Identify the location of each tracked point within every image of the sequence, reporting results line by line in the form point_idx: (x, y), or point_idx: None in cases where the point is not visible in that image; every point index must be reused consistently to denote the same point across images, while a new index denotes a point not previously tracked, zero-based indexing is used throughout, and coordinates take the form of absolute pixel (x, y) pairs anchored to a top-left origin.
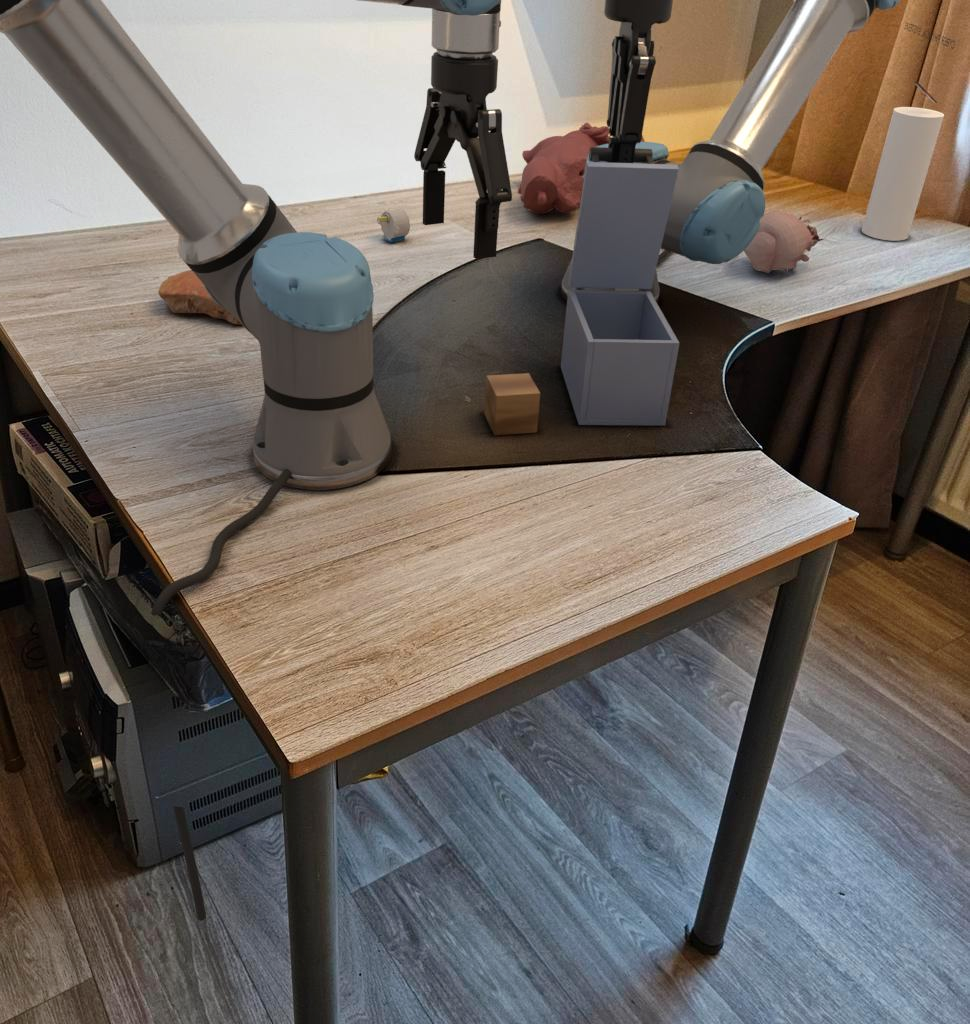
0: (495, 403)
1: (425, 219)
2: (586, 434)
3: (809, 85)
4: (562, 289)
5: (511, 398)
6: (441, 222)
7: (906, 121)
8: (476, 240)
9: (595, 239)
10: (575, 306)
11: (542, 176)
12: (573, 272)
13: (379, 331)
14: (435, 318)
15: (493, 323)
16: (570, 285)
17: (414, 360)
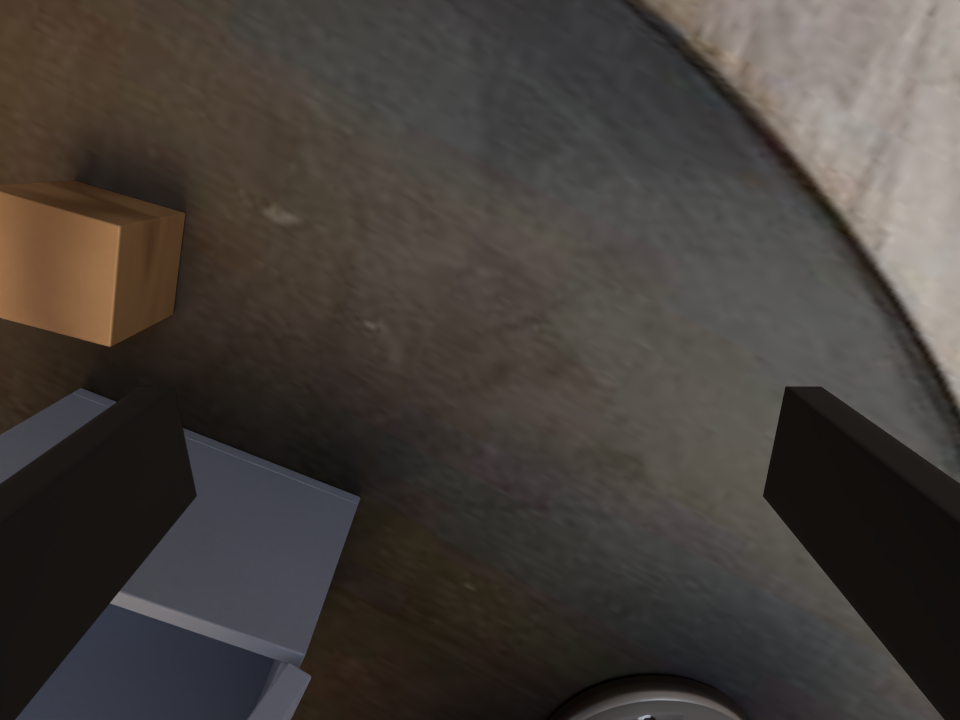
0: (8, 185)
1: (804, 402)
2: (39, 381)
3: None
4: (704, 696)
5: None
6: (769, 486)
7: None
8: (80, 436)
9: None
10: (165, 609)
11: None
12: (250, 714)
13: (772, 180)
14: (760, 368)
15: (651, 482)
16: (284, 669)
17: (547, 189)
